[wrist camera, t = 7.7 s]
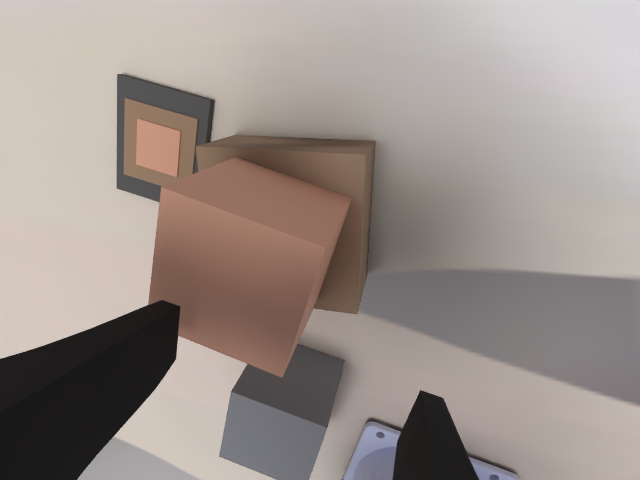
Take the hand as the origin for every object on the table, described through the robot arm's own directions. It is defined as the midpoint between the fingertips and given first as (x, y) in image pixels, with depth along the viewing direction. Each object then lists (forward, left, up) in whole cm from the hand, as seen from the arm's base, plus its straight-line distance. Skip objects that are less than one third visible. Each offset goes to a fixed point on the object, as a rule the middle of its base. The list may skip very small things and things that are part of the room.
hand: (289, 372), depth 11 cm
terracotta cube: (+3, -1, -6) cm, 7 cm away
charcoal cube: (+1, +10, -10) cm, 14 cm away
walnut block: (+3, -1, -10) cm, 11 cm away
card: (+11, -2, -10) cm, 15 cm away
